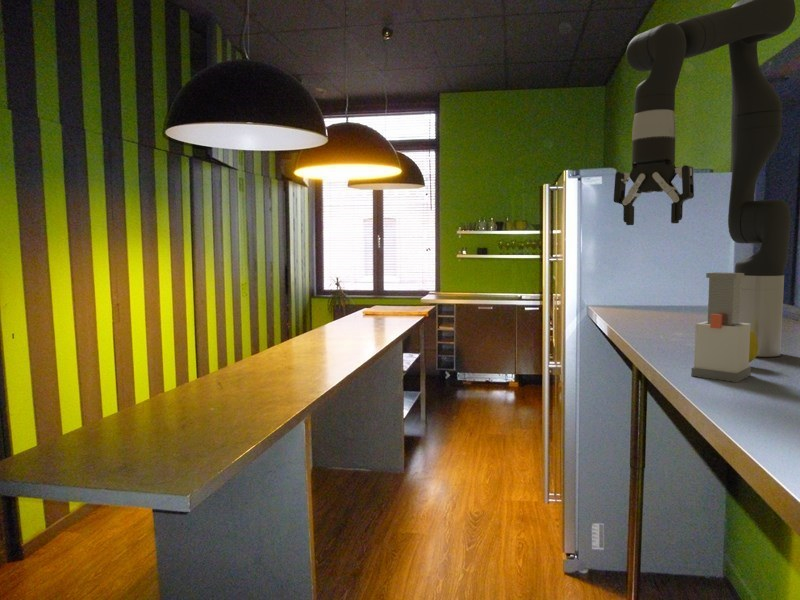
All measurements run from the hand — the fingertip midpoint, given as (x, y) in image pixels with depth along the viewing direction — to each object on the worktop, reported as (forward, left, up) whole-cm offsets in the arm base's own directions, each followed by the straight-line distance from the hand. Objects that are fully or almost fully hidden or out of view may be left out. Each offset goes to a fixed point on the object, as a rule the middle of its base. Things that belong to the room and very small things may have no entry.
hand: (651, 224), depth 115 cm
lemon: (-13, +13, -28) cm, 33 cm away
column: (-1, +13, -26) cm, 29 cm away
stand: (-1, +13, -28) cm, 31 cm away
